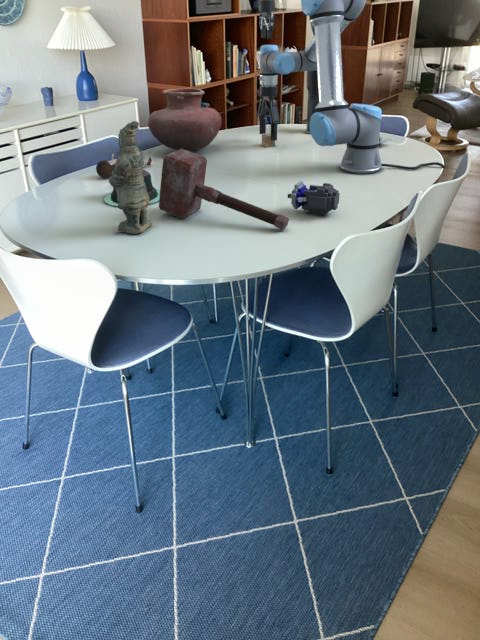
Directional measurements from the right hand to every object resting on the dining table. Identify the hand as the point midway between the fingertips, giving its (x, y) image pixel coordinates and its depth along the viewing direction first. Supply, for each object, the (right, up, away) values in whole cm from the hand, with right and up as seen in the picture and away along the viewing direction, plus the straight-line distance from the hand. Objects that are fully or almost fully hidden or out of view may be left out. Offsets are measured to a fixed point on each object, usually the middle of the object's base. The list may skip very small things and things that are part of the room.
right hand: (268, 137), depth 246 cm
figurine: (-57, -24, -31) cm, 69 cm away
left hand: (+1, +56, +24) cm, 61 cm away
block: (0, -3, +2) cm, 4 cm away
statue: (-43, -55, -84) cm, 109 cm away
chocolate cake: (-48, -40, -59) cm, 86 cm away
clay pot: (-35, -8, -5) cm, 37 cm away
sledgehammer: (-17, -51, -80) cm, 96 cm away
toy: (+10, -48, -75) cm, 90 cm away
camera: (+46, -4, -1) cm, 46 cm away
